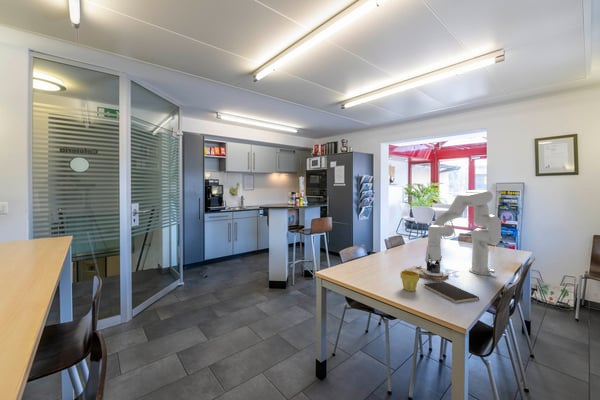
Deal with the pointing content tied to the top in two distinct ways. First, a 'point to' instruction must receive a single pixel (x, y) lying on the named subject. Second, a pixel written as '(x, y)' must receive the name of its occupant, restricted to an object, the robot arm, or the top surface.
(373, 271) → the top surface
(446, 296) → the hardcover book
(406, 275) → the plant pot
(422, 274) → the levelling base
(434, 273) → the cam dial
